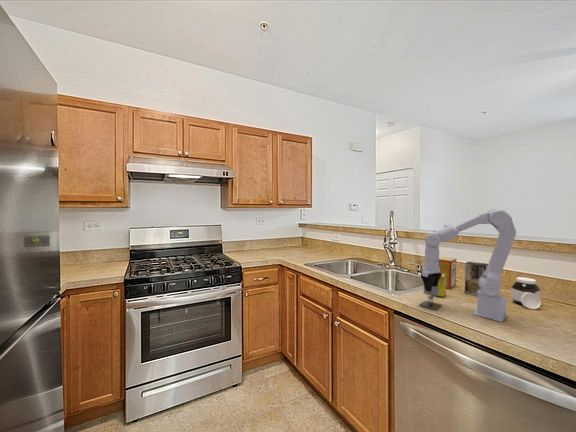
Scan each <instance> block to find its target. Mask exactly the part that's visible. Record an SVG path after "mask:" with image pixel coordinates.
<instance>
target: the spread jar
mask: <svg viewBox="0 0 576 432" xmlns="http://www.w3.org/2000/svg"><path fill="white" fill-rule="evenodd" d="M515 279H516V282H514V283H513V284H512V286H511V293H510V294H511V299H512V301H513V302H514V303H516V304H517V305H520V306H524V307H525V308H526V309H529V310H536V309H539V308H541V305H542V301H541V289H540V287H539V285H537V280H536V279H534V278H530V277H523V276H521V277H520V276H519V277H516V278H515Z"/></svg>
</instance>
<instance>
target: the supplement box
mask: <svg viewBox="0 0 576 432" xmlns="http://www.w3.org/2000/svg"><path fill="white" fill-rule="evenodd" d="M438 286H439V290H438V295H437V296H433V295H430V296H432V297H436V298H441V299H444V298H445V296H447V295H446V292H447V291H446V290H447V289H446V274H442V276H441V277H440V279H439V281H438Z"/></svg>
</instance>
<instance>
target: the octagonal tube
mask: <svg viewBox="0 0 576 432" xmlns="http://www.w3.org/2000/svg"><path fill="white" fill-rule="evenodd" d="M438 290H439V286H438V285H436V284H432V290H431V292H428V291H426V290H425V286H424V285H423V293H424V294H425V295H428V296H431V295H433V296H432V297H435V296H437V295H438Z"/></svg>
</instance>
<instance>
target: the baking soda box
mask: <svg viewBox="0 0 576 432" xmlns="http://www.w3.org/2000/svg"><path fill="white" fill-rule="evenodd" d="M439 268H440V272H439V273H442V274H446V290H450V291H451V290H452V289H454V288H455V287H456V286H457V285H456V284H457V282H456V281H457V258H453V257H444V256H443V257H439Z"/></svg>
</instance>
